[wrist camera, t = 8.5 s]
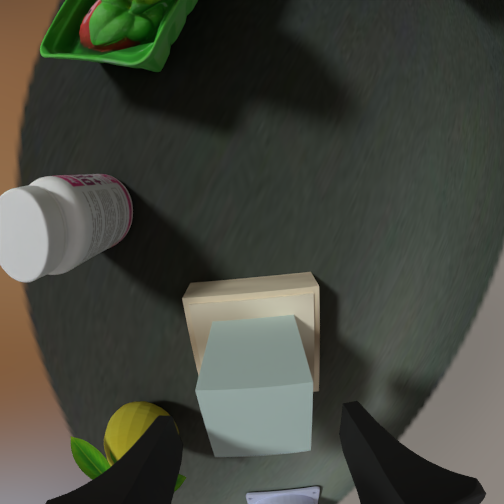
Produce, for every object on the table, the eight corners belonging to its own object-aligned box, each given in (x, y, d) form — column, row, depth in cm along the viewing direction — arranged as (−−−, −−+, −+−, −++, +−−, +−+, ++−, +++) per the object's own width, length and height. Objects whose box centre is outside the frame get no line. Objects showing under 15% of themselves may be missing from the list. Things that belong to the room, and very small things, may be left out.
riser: (312, 369, 20) (319, 392, 18) (209, 378, 21) (204, 401, 18) (310, 271, 19) (319, 286, 16) (190, 282, 19) (181, 299, 16)
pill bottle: (126, 164, 17) (42, 161, 9) (143, 238, 18) (72, 284, 10) (67, 185, 17) (-23, 198, 9) (83, 253, 18) (2, 298, 10)
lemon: (104, 381, 21) (52, 468, 11) (164, 372, 20) (124, 478, 11) (141, 435, 22) (111, 520, 13) (199, 430, 22) (181, 528, 12)
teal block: (296, 377, 17) (310, 450, 12) (223, 383, 18) (214, 457, 12) (293, 314, 16) (312, 381, 11) (212, 321, 16) (195, 390, 11)
